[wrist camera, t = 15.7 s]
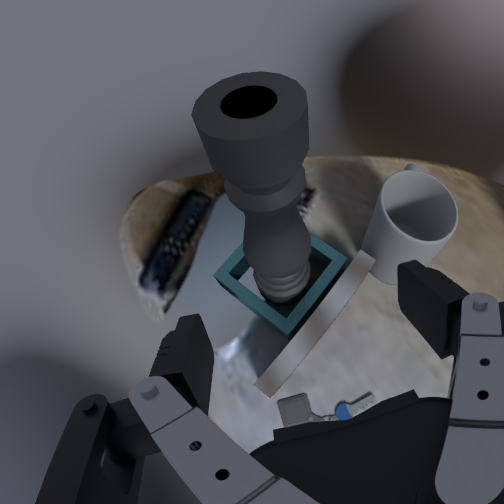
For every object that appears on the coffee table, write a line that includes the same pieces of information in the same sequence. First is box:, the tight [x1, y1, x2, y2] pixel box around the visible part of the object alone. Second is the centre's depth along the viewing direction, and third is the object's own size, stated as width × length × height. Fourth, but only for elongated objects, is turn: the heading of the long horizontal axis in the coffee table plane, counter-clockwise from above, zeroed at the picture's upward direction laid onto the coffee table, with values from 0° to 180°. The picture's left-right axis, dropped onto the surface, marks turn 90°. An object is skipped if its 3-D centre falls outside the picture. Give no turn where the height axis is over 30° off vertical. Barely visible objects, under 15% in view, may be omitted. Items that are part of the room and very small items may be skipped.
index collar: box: [213, 232, 348, 340], centre depth 34 cm, size 10×10×4 cm
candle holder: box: [192, 72, 311, 306], centre depth 25 cm, size 6×6×25 cm
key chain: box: [278, 394, 375, 427], centre depth 28 cm, size 14×8×1 cm, turn 52°
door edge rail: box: [253, 249, 376, 398], centre depth 30 cm, size 17×2×5 cm, turn 139°
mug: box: [362, 164, 458, 285], centre depth 31 cm, size 12×8×11 cm
